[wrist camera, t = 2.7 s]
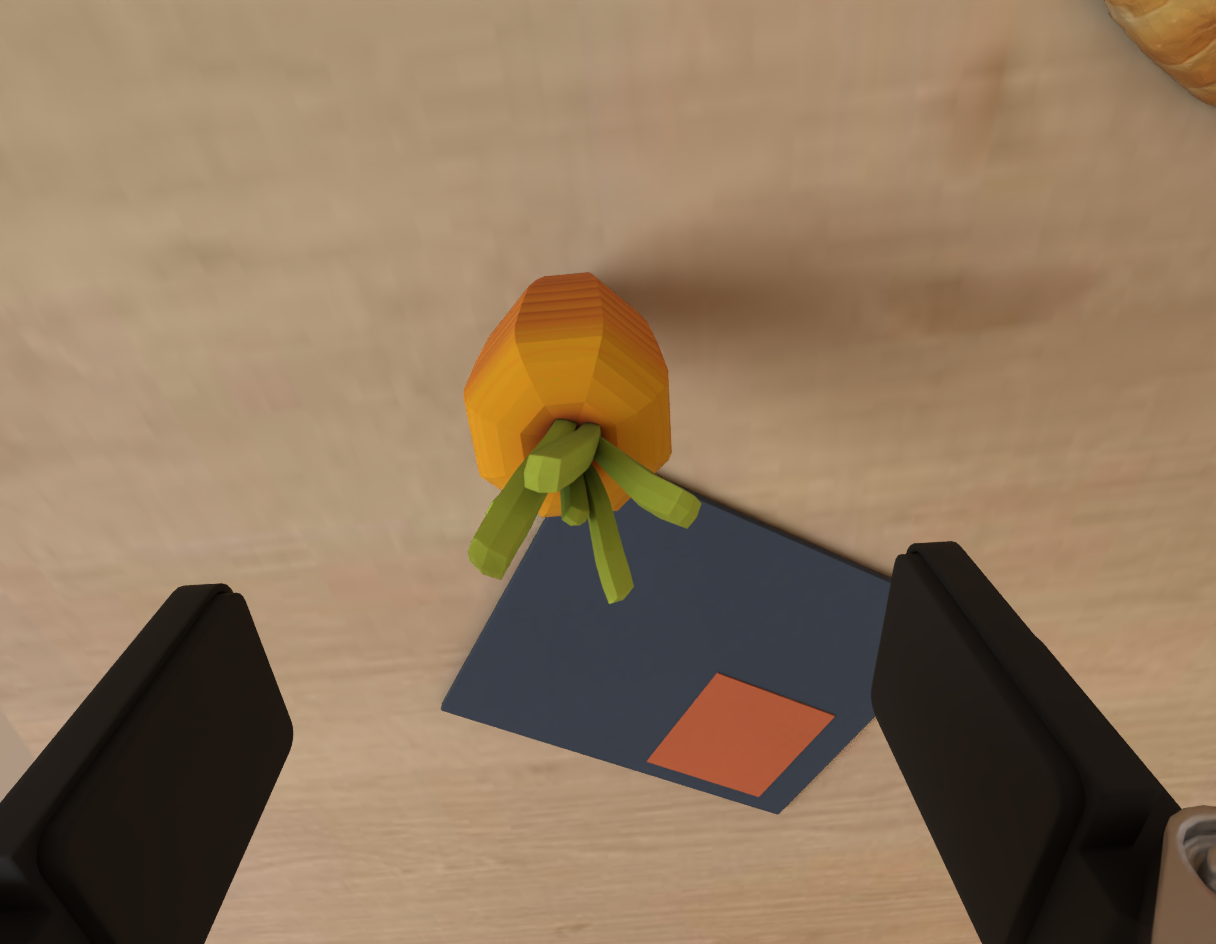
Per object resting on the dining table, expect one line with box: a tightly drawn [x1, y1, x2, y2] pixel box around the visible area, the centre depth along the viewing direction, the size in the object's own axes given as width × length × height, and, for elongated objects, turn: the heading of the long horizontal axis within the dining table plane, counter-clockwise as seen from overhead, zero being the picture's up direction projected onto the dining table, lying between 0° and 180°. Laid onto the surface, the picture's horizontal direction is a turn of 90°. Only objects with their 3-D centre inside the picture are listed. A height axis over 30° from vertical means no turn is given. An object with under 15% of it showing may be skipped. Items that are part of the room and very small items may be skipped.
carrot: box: [464, 272, 702, 604], centre depth 18 cm, size 5×5×15 cm
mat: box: [441, 482, 891, 815], centre depth 33 cm, size 20×16×1 cm
